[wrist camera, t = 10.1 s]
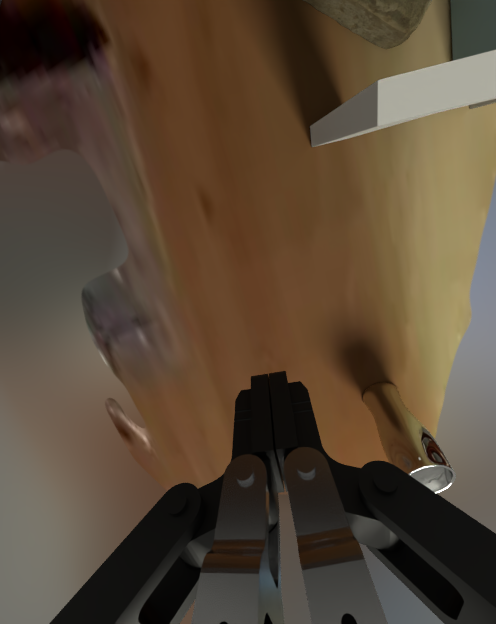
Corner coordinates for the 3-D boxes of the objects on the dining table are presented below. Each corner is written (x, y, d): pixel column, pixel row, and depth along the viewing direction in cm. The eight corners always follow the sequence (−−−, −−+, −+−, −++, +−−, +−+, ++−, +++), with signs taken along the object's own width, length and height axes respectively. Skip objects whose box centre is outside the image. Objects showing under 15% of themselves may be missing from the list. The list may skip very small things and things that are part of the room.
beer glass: (353, 390, 48) (392, 476, 35) (392, 373, 46) (449, 457, 33) (368, 414, 51) (410, 502, 37) (405, 399, 49) (463, 486, 35)
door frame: (311, 147, 31) (377, 126, 15) (309, 126, 30) (377, 80, 14) (484, 105, 29) (771, 31, 13) (488, 82, 28) (801, -30, 12)
